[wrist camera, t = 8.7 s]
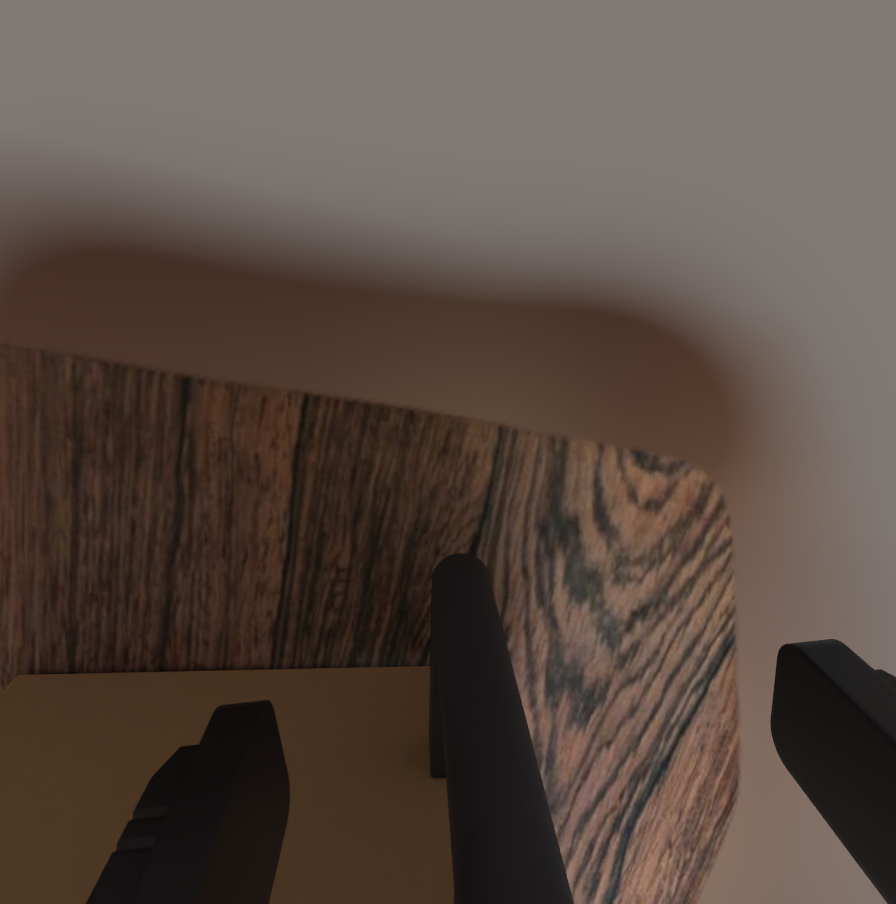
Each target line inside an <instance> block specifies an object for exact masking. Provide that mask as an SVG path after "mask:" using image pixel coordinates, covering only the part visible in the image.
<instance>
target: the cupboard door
mask: <svg viewBox="0 0 896 904" xmlns="http://www.w3.org/2000/svg"><path fill="white" fill-rule="evenodd" d="M262 700H269V701H270V702H271V703H272V705H273V708H274V711H275V716H276V720H277V725H278V729H279V734H280V738H281V743H282V748H283V752H284V757H285V761H286V766H287V770H288V775H289V783H290V807H289V816H288V822H287V827H286V831H285V836H284V840H283V844H282V849H281V853H280V857H279V862H278V866H277V870H276V875H275V879H274V884H273V888H272V892H271V897H270V901H269V904H574V902H573V899H572V895H571V891H570V887H569V883H568V879H567V875H566V872H565V868H564V864H563V860H562V856H561V852H560V848H559V845H558V841H557V837H556V833H555V829H554V825H553V821H552V818H551V814H550V810H549V806H548V802H547V798H546V794H545V791H544V787H543V783H542V779H541V775H540V771H539V767H538V764H537V760H536V756H535V752H534V748H533V744H532V740H531V737H530V733H529V729H528V725H527V721H526V717H525V713H524V710H523V706H522V702H521V698H520V694H519V690H518V686H517V683H516V679H515V675H514V671H513V667H512V663H511V659H510V656H509V652H508V648H507V644H506V640H505V636H504V633H503V629H502V625H501V621H500V617H499V613H498V609H497V606H496V602H495V598H494V594H493V590H492V586H491V582H490V579H489V575H488V571H487V568H486V566H485V565H484V564H483V562H482V561H481V560H479V559H478V558H476V557H475V556H472V555H469V554H464V553H459V554H453V555H450V556H448V557H446V558H444V559H443V560H441V561H440V562H439V563H438V564H437V566H436V567H435V569H434V571H433V574H432V591H431V644H430V666H405V667H358V668H312V669H265V670H218V671H172V672H125V673H78V674H31V675H17V676H16V677H15V678H14V679H13V680H12V681H11V682H10V683H9V684H8V685H7V686H6V687H5V688H4V689H3V690H2V691H1V693H0V904H86V902H87V900H88V898H89V896H90V894H91V892H92V891H93V889H94V887H95V885H96V883H97V881H98V879H99V877H100V875H101V873H102V871H103V869H104V867H105V865H106V864H107V862H108V860H109V858H110V856H111V854H112V852H115V851H116V849H117V842H118V840H119V838H120V837H121V835H122V833H123V831H124V829H125V827H126V825H127V823H128V821H129V820H132V818H133V811H134V810H135V808H136V806H137V804H138V802H139V800H140V798H141V796H142V794H143V792H144V790H145V788H146V786H147V784H148V783H149V781H150V779H151V777H152V776H153V775H154V774H155V773H156V772H157V771H158V770H159V769H160V768H161V767H162V765H163V764H164V763H165V762H166V761H167V760H168V759H169V758H170V757H171V756H172V755H173V754H174V753H175V752H176V751H177V750H178V749H179V748H180V746H189V745H198V744H199V743H200V741H201V738H202V736H203V734H204V732H205V730H206V727H207V725H208V723H209V721H210V719H211V716H212V714H213V712H214V710H215V709H216V708H217V707H218V706H220V705H226V704H235V703H244V702H253V701H262Z"/></svg>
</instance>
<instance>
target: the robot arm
mask: <svg viewBox="0 0 896 904" xmlns="http://www.w3.org/2000/svg"><path fill="white" fill-rule="evenodd" d="M771 733H772V737H773V741H774V744H775V747H776V750H777V752H778V754H779V756H780V759H781V760H782V762H783V764H784V765H785V767H786V768H787V770H788V771H789V772H790V774H791V775H792V776H793V778H794V779H795V780H796V781H797V783H798V784H799V786H800V787H801V788H802V790H803V791H804V793H805V794H806V795H807V796H808V798H809V799H810V801H811V802H812V803H813V805H814V806H815V807H816V808H817V810H818V811H819V813H820V814H821V815H822V817H823V818H824V819H825V821H826V822H827V823H828V825H829V826H830V827H831V829H832V830H833V831H834V833H835V834H836V835H837V837H838V838H839V839H840V840H841V842H842V843H843V845H844V846H845V847H846V849H847V850H848V851H849V853H850V854H851V855H852V857H853V858H854V859H855V861H856V862H857V863H858V865H859V866H860V867H861V869H862V870H863V871H864V873H865V874H866V875H867V877H868V878H869V879H870V881H871V882H872V883H873V885H874V886H875V887H876V889H877V890H878V891H879V893H880V894H881V895H882V897H883V898H884V899H885V901H886V902H887V904H896V677H895V676H893V675H891V674H889V673H887V672H885V671H883V670H874V669H873V668H871V667H870V666H869V665H868V664H867V663H866V662H865V661H863V660H862V659H861V658H860V657H859V656H857V654H855V653H854V652H853V651H852V650H851V649H850V648H848V647H847V646H846V645H845V644H843V643H842V642H840V641H838V640H835V639H827V640H819V641H809V642H801V643H791V644H785V645H783V646H782V647H781V648H780V649H779V652H778V656H777V665H776V675H775V684H774V693H773V703H772V713H771ZM289 807H290V783H289V775H288V770H287V766H286V761H285V757H284V752H283V748H282V743H281V738H280V734H279V729H278V725H277V720H276V716H275V711H274V708H273V705H272V703H271V702H270V701H269V700H262V701H253V702H244V703H235V704H226V705H220V706H218V707H217V708H216V709H215V710H214V712H213V714H212V716H211V719H210V721H209V723H208V725H207V727H206V730H205V732H204V734H203V736H202V738H201V741H200V743H199V744H198V745H189V746H180V748H179V749H178V750H177V751H176V752H175V753H174V754H173V755H172V756H171V757H170V758H169V759H168V760H167V761H166V762H165V763H164V764H163V765H162V767H161V768H160V769H159V770H158V771H157V772H156V773H155V774H154V775H153V776H152V777H151V779H150V781H149V783H148V784H147V786H146V788H145V790H144V792H143V794H142V796H141V798H140V800H139V802H138V804H137V806H136V808H135V810H134V811H133V818H132V820H129V821H128V823H127V825H126V827H125V829H124V831H123V833H122V835H121V837H120V838H119V840H118V842H117V849H116V851H115V852H112V854H111V856H110V858H109V860H108V862H107V864H106V865H105V867H104V869H103V871H102V873H101V875H100V877H99V879H98V881H97V883H96V885H95V887H94V889H93V891H92V892H91V894H90V896H89V898H88V900H87V902H86V904H269V901H270V897H271V892H272V888H273V884H274V879H275V875H276V870H277V866H278V862H279V857H280V853H281V849H282V844H283V840H284V836H285V831H286V827H287V822H288V816H289Z"/></svg>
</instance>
